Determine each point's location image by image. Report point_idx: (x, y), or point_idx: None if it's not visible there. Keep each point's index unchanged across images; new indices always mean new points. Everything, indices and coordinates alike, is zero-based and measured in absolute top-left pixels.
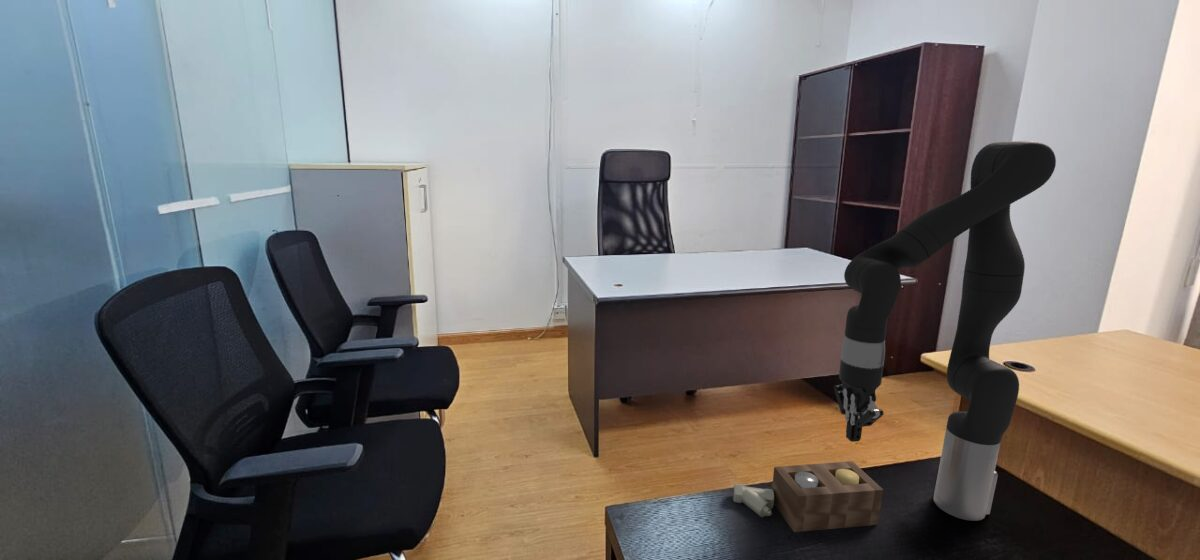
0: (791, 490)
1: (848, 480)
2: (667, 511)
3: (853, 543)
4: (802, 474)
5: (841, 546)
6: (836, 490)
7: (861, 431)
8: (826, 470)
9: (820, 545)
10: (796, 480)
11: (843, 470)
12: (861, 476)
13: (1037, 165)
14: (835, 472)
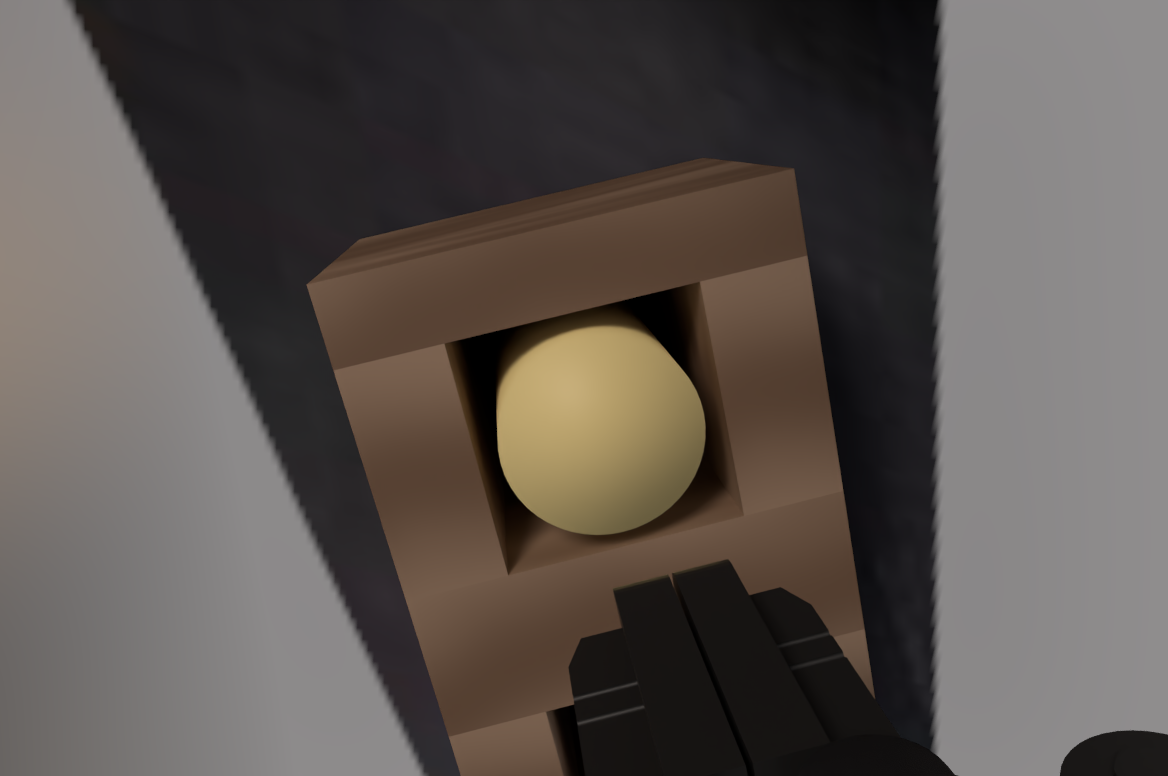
0: None
1: (692, 457)
2: None
3: (882, 387)
4: None
5: (906, 465)
6: (822, 589)
7: (860, 684)
8: (525, 590)
9: (899, 576)
10: None
11: (527, 449)
12: (586, 295)
13: None
14: (486, 484)
